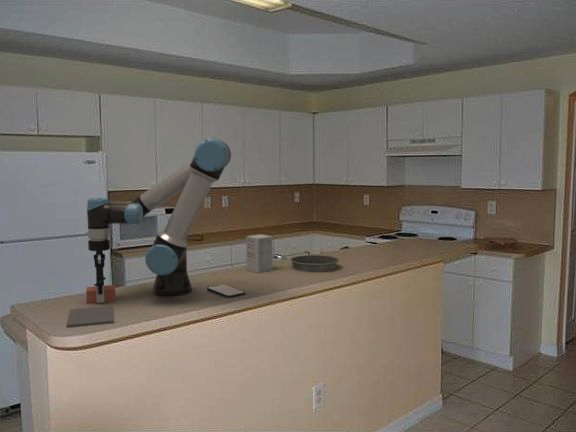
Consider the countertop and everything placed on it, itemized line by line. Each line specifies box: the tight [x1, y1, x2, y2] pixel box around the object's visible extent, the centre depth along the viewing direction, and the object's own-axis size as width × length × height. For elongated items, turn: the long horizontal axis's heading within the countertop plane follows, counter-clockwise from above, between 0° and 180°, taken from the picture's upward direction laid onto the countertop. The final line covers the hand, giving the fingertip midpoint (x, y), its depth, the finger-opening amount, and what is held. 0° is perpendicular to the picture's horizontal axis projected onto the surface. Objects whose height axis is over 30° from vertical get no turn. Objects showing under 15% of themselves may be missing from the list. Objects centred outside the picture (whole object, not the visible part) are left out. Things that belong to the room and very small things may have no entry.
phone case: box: [206, 284, 246, 299], centre depth 203 cm, size 9×2×16 cm
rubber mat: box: [66, 305, 115, 328], centre depth 170 cm, size 14×18×1 cm
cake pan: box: [289, 254, 340, 273], centre depth 253 cm, size 25×25×4 cm
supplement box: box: [245, 233, 273, 274], centre depth 245 cm, size 10×9×17 cm
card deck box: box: [86, 284, 116, 305], centre depth 190 cm, size 10×6×5 cm, turn 112°
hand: (100, 299), depth 190 cm, fingers open, 7 cm apart
